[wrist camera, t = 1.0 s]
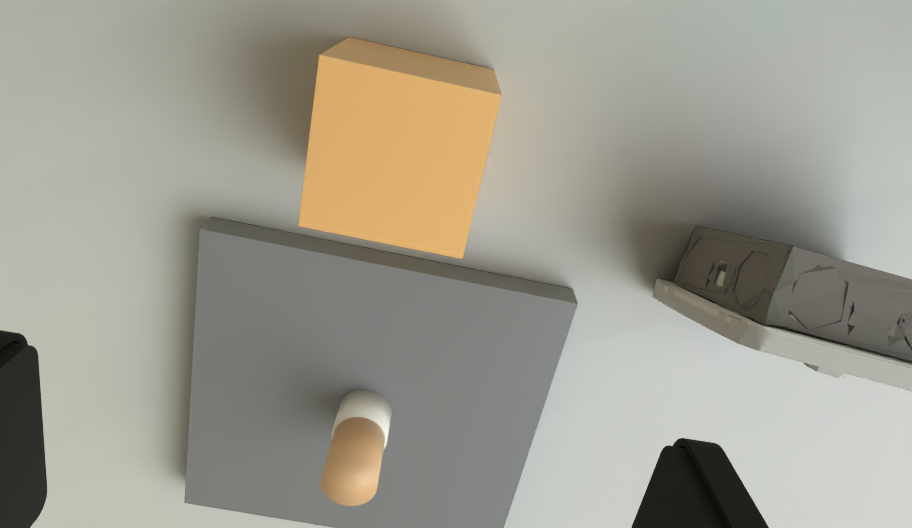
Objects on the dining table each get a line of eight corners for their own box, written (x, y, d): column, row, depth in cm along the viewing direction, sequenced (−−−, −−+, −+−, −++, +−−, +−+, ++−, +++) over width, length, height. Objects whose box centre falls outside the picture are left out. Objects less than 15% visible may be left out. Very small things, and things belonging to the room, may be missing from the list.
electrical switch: (643, 291, 31) (723, 391, 22) (685, 188, 29) (788, 252, 21) (821, 338, 32) (964, 451, 23) (870, 241, 30) (1044, 323, 22)
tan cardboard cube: (349, 37, 26) (319, 54, 21) (493, 69, 27) (501, 95, 21) (329, 177, 29) (298, 226, 23) (462, 204, 29) (462, 258, 24)
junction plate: (211, 217, 29) (148, 278, 24) (572, 289, 31) (598, 364, 25) (195, 482, 36) (142, 583, 30) (493, 532, 37) (499, 638, 31)
